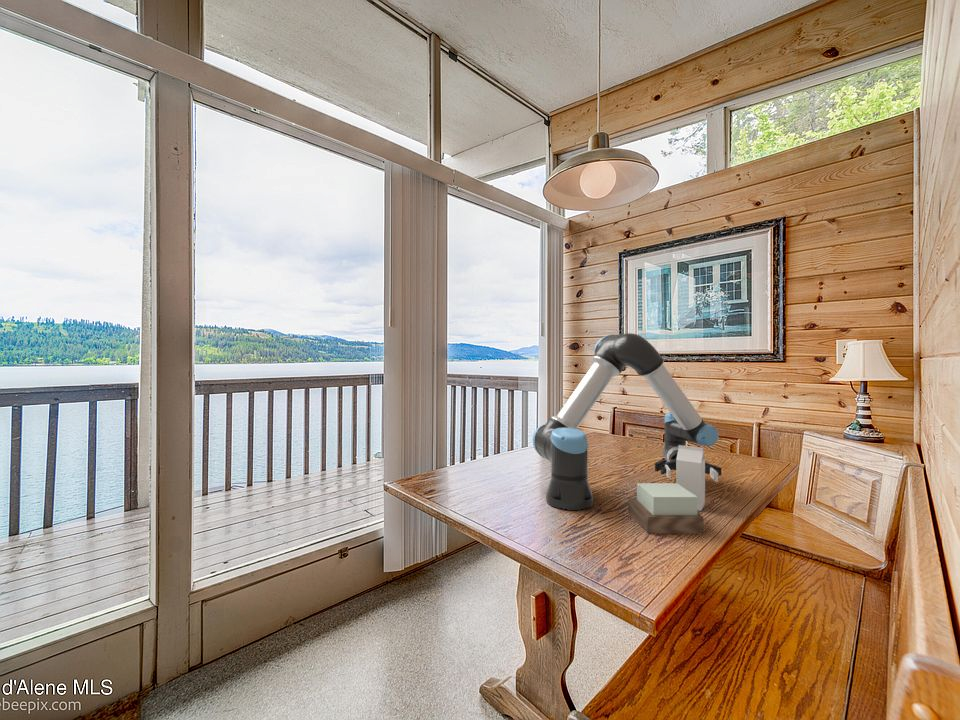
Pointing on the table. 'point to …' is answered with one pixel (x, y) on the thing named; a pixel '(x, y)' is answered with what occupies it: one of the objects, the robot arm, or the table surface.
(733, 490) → the table surface
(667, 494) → the tower top
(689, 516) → the tower base
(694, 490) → the milk carton
